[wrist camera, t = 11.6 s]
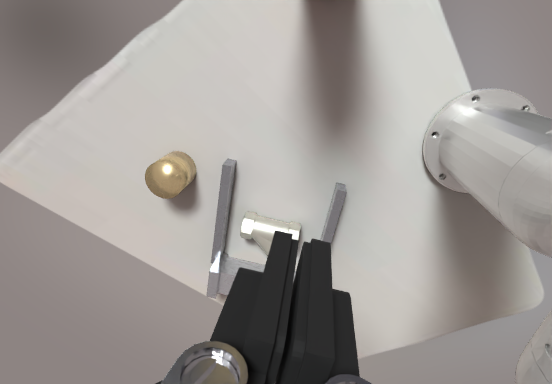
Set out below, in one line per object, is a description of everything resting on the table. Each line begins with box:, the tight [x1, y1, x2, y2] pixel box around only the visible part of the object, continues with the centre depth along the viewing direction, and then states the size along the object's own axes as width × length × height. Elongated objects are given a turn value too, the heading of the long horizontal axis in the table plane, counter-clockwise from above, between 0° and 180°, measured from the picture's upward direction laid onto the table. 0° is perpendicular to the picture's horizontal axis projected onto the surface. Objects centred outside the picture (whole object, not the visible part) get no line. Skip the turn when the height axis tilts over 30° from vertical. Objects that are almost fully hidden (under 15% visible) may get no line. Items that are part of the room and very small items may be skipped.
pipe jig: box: [207, 159, 347, 299], centre depth 46 cm, size 16×20×5 cm
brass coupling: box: [145, 151, 196, 199], centre depth 43 cm, size 5×5×5 cm
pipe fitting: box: [240, 211, 301, 256], centre depth 47 cm, size 8×4×7 cm
